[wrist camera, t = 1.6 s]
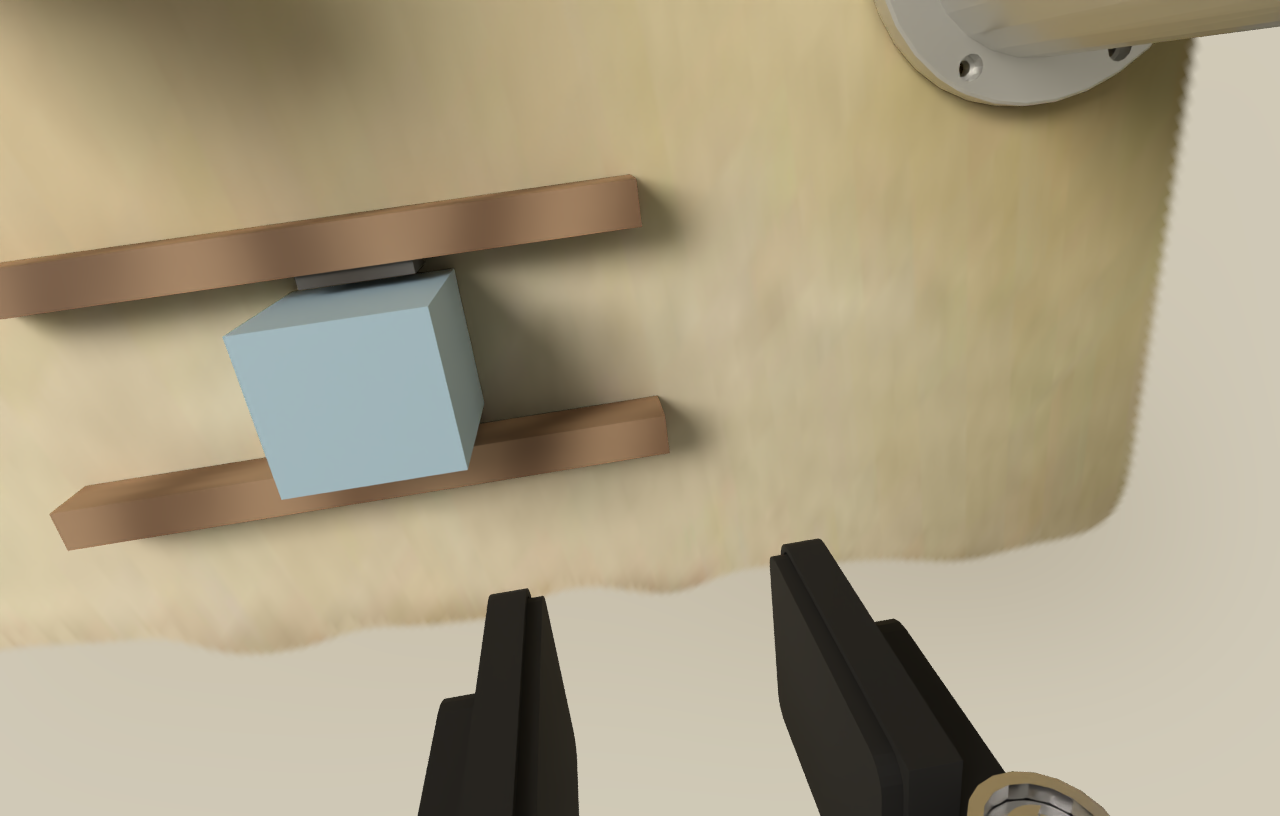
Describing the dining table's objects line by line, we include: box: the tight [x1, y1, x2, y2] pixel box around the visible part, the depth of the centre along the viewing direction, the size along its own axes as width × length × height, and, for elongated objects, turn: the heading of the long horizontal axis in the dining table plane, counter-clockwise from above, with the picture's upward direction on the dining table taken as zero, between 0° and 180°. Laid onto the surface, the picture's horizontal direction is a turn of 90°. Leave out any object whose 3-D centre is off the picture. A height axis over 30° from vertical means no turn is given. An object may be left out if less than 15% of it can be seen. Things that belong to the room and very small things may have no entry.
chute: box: [0, 174, 670, 551], centre depth 27 cm, size 23×10×2 cm, turn 97°
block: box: [223, 268, 484, 500], centre depth 25 cm, size 6×6×6 cm
